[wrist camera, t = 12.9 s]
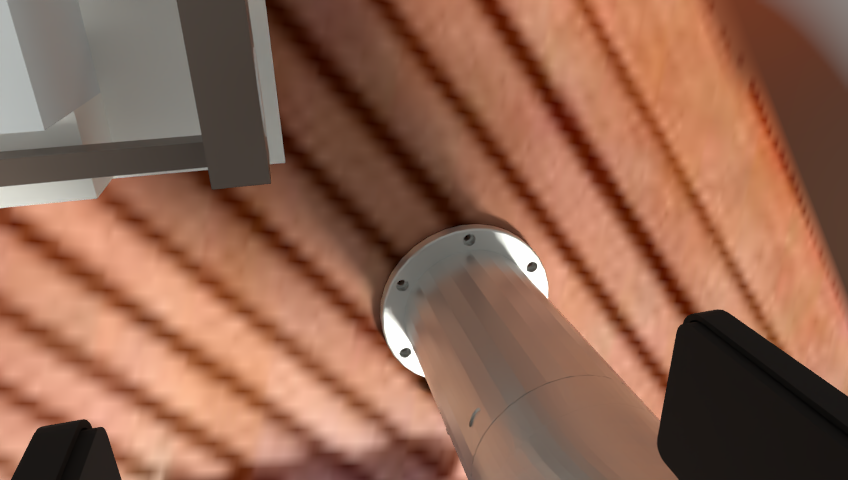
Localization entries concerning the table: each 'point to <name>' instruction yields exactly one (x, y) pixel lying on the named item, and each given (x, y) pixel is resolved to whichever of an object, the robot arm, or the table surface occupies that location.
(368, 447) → the table surface
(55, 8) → the stand
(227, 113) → the grey frame
